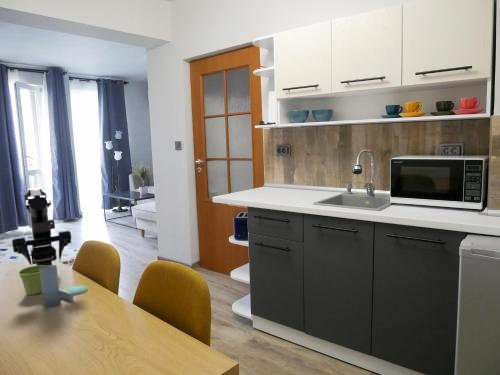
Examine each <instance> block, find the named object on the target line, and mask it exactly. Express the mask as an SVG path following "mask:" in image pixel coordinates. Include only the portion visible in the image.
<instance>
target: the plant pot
mask: <svg viewBox="0 0 500 375" xmlns="http://www.w3.org/2000/svg"><path fill="white" fill-rule="evenodd" d="M44 266H45V265H37V266H36V265H32V266H31V265H30V266H28V267H25V268H21V269H20V270H19V271H18V272H17V273H18V274H17V275H18V276H19V277H20V278H21V282H22V283H23V287H24V291H25V293H26V294H27V295H29V296H35V295H37V294H42V288H41V279H40V271H39V269H40V268H41V267H44Z"/></svg>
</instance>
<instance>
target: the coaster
mask: <svg viewBox="0 0 500 375" xmlns="http://www.w3.org/2000/svg"><path fill="white" fill-rule="evenodd" d="M64 291H67V292H70V293H73V296H77V295H80V294H84V293H85V292H87V291H88V287H87V286H86V285H77V286H73V287H69V288H67V289H65V290H64Z"/></svg>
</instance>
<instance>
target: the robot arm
mask: <svg viewBox="0 0 500 375" xmlns="http://www.w3.org/2000/svg"><path fill="white" fill-rule="evenodd" d="M27 190H28V192H26V194H24V204H25V208H26V210H27V212H28V214H30V222H31V230H32V233H31V234H32V239H28V240H27V239H26V237H25V236H22V237H16V238H13V239H12V240H11V243H12V250H13V253H17V254H18V255H19V254H20V255H22V256H23V257H24V258H25V260H26V261H27V262H28V264H29V265H30V266H31V265H32V266H34V265H35V266H37V265H45V266H47V265H53V262H55V261H56V260H58V259H59V260H61V259H62V256H63V252H64V250H65V247H67V246H68V244H72V234H71V231H69V230H63V231H58V235H54V236H52V230H53V229H56V224H55V223H56V222H55V219H49V216H48V213H49V211H48V208H50V206H52V202H51V200H49V198H48V197H47V194H46V192H44V191H43V190H42V187H31V188H28V189H27ZM54 242H58V256H57V249H56V248H55V246H54V245H53V244H52V243H54ZM28 246H31V247H32V249H30V253H29V248H28ZM30 255H31V256H30ZM57 258H58V259H57Z"/></svg>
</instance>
